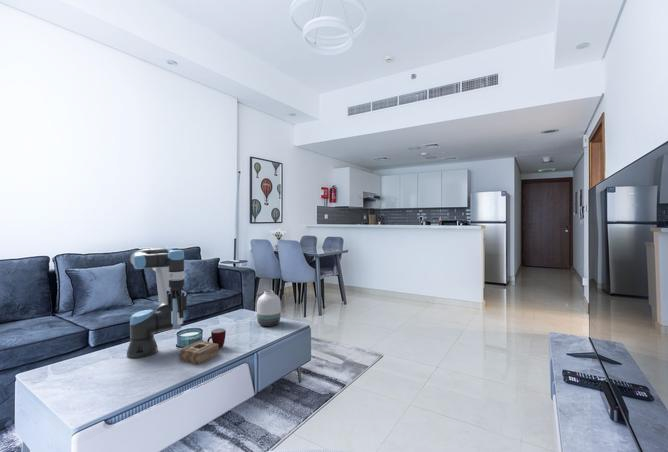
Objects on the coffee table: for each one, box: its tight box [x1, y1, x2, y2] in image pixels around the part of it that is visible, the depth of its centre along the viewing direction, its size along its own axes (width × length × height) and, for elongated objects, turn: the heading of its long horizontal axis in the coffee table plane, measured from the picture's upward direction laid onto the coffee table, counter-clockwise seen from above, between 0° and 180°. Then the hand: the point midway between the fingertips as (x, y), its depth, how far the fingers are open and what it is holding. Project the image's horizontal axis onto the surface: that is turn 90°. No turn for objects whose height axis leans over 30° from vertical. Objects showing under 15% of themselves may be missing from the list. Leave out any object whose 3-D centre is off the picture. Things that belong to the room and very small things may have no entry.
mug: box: [206, 327, 227, 349], centre depth 191 cm, size 11×8×10 cm
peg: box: [172, 298, 182, 330], centre depth 171 cm, size 4×4×16 cm
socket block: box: [179, 340, 220, 366], centre depth 178 cm, size 14×14×6 cm
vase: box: [256, 289, 282, 327], centre depth 234 cm, size 17×17×24 cm
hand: (177, 323), depth 171 cm, fingers closed on peg, 4 cm apart
